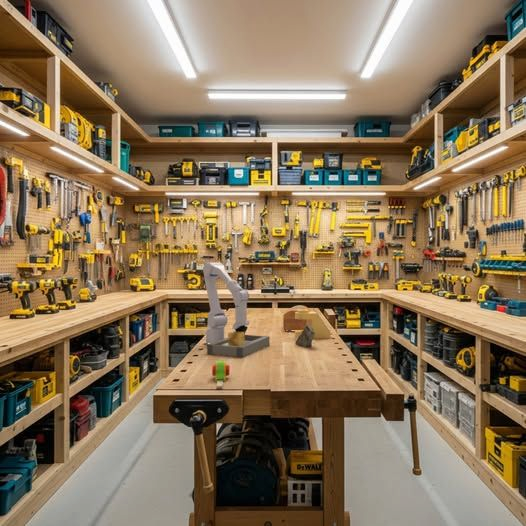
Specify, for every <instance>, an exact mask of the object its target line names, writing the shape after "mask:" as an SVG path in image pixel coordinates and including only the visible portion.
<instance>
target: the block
mask: <svg viewBox="0 0 526 526" xmlns="http://www.w3.org/2000/svg"><path fill="white" fill-rule="evenodd" d="M227 333H228V334H227V338H228V345H231V346H241V345H243V344H245V335H246V333H245V332H240V331H236V330H232V331H231V332H227Z"/></svg>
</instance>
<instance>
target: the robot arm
mask: <svg viewBox="0 0 526 526" xmlns="http://www.w3.org/2000/svg"><path fill="white" fill-rule="evenodd" d="M225 269H226V268H225V265H223V263H222V262H220V261H219V262H209V261H207V262H205V263H204V265H203V267H202V270H203V276H204V282H205V283H204V285H205V287H206V288H205V290H206V293H207V299H208V303H209V309H210V310H209V312H208V313H207V326H209V327H207V328H206V331H205V343H204V344H205V345H207V344H206V343H213V342H216V341H219V340H222V339H225V328H226V326H227V324H228V316H227V315H226V312H225V310H223V309H222V308H221V303H220V298H219V295H218V290H217V285H216V280H217V279H218V278H220V279H222V281H223V282H224V283H225V284H226V289H227V290H228V291H229V292H230V294H231V295H232V299H233V301H234V306H235V310H234V311H235V313H234V314H235V316H234V318H235V323H232V329H233V330H234V331H240V332H245V334H246V332H247V330H248V327H249V325H250V321H249V320H247V319H248V318H247V317H248V315H247V308H248V305H247V304H248V303H247V302H248V300H249V298H250V293H249V291H248V290H246V289H244V288H242V287H241V286H240V284H239V283H238V281H237V280H235V279H232V278H231V276H230V275H229V273H228V272H227V270H225Z"/></svg>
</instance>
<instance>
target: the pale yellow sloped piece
mask: <svg viewBox="0 0 526 526" xmlns="http://www.w3.org/2000/svg"><path fill="white" fill-rule="evenodd" d="M309 310H310V309H309ZM309 310H307V309H298V310H297V312H295V319H309V326H310V327H312V328H313V331H314V338H313V339H331V335H332V334H331V331H330V329H329V328H328V327H327V325H326V324H325V322H324V320H323V319H322V318H321V316H320V315H319V313H317V312H316V311H311V312H309ZM302 332H303V330H297V331H294V338H296V337H299V336H300V335H301V334H302Z"/></svg>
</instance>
